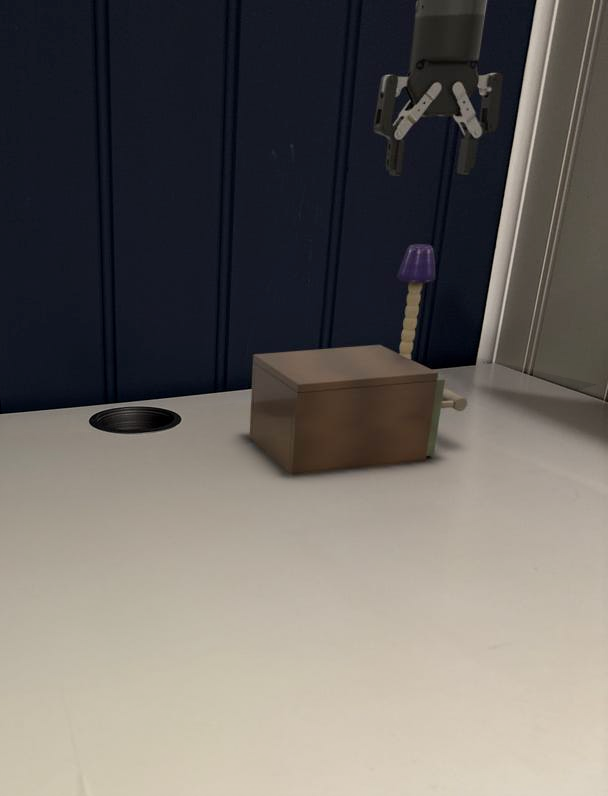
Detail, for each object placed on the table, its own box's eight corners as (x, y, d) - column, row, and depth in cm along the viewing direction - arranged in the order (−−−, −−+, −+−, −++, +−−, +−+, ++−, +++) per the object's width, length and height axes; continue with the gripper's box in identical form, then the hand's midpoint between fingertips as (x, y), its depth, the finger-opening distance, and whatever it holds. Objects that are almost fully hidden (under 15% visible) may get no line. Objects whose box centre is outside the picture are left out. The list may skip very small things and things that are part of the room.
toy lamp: (428, 379, 124) (447, 245, 116) (404, 385, 122) (422, 249, 113) (400, 372, 128) (417, 241, 119) (377, 378, 125) (392, 245, 117)
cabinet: (370, 430, 106) (380, 344, 101) (425, 466, 95) (438, 372, 90) (248, 442, 103) (253, 354, 98) (291, 480, 93) (298, 384, 88)
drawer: (418, 420, 106) (427, 350, 102) (471, 451, 96) (484, 375, 92) (270, 434, 103) (275, 362, 99) (311, 468, 93) (317, 390, 89)
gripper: (400, 11, 100) (382, 178, 108) (526, 9, 101) (499, 175, 110) (377, 16, 107) (361, 174, 115) (496, 15, 108) (472, 171, 116)
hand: (429, 174), depth 112 cm, fingers open, 8 cm apart
